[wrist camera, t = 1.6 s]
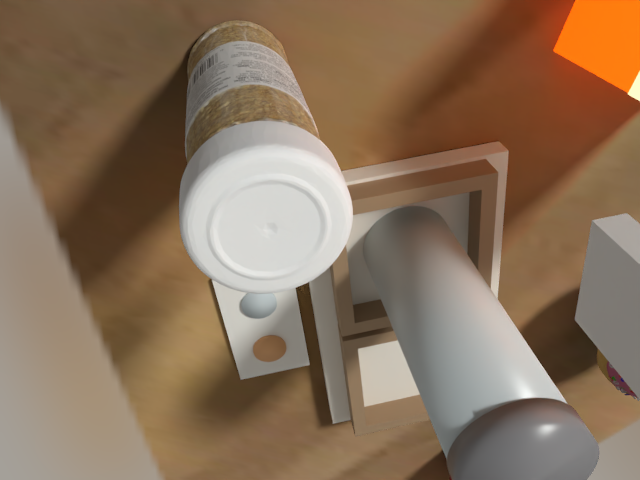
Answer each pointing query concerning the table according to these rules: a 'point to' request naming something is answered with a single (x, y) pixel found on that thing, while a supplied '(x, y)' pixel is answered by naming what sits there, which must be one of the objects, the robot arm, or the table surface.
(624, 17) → the orange juice
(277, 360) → the white switch plate
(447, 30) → the table surface
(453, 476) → the white bottle
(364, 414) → the frame
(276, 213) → the spice jar
